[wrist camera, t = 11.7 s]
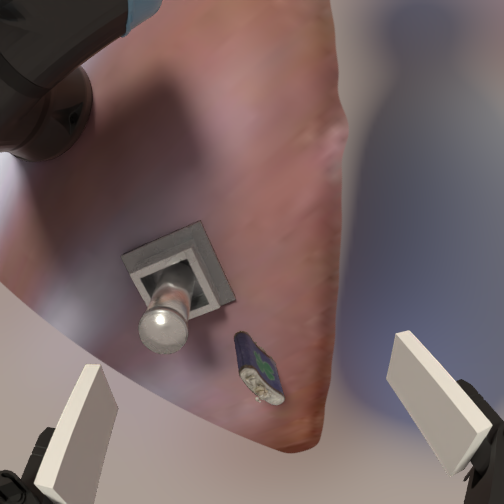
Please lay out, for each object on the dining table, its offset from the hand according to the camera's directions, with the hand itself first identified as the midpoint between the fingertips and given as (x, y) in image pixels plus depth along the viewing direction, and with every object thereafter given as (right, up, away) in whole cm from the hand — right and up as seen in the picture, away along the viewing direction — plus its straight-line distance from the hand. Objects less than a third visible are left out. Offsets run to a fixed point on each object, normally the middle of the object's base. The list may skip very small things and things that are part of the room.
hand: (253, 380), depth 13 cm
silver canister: (-10, +2, +30) cm, 32 cm away
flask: (0, -10, +36) cm, 37 cm away
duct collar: (-10, +2, +31) cm, 32 cm away
